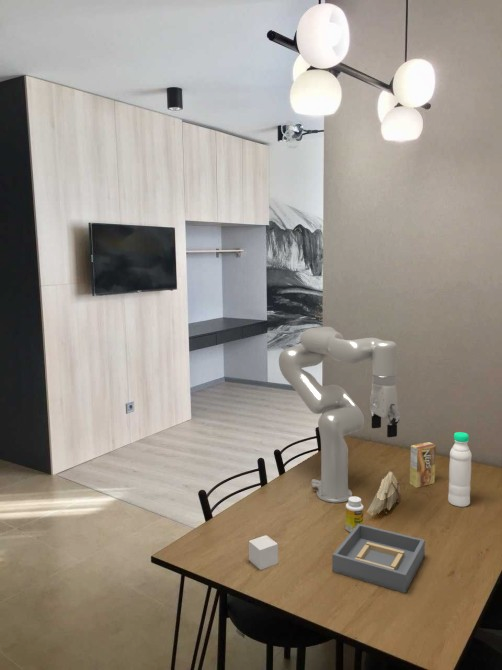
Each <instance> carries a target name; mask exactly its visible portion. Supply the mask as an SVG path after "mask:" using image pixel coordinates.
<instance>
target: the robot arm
mask: <svg viewBox="0 0 502 670" xmlns="http://www.w3.org/2000/svg"><path fill="white" fill-rule="evenodd" d="M299 342H300V344H301V345H296V346H295V345H294V346H291V347H287V348H286V349H283V350H282V351H281V352H280V354H279V357H278V367H279V369H280V372H281V375H282V376H283V378H284V379H285V380H286V381H287V383H289V385H290V386H291V387H292V388H293V389H294V390H295V392H297V395H298V396H299V397H300V398H301V400H302V401H303V403H304V404H305V405H306V407H307V408H308V409H309V410H310V411H311V413H312V414H317V415H320V414H321V415H320V416H319V418H318V423H317V425H318V431H319V436H320V456H321V457H320V464H321V466H320V467H321V468H320V472H321V473H320V480H318V479H314V478H312V480H311V482H310V483H311V487H312V488H317V490H316V496H317V497H318V498H319V499H320V500H322V501H324V502H327V503H335V504H336V503H344V502H348V498H349V497H352V496H353V492H352V490H351V489H350V488H349V447H348V444H347V443H346V442H347V441H346V440H345V437H344V436H346V435H349V434H353V433H357V432H359V431H360V430H362V429H363V427H364V425H365V417H364V414H363V412H362V411H361V408H360V407H359V406H358V405H357V404H356V402H355V401H354V400H353V399H352V397H351V396H350V395H349V393H348V392H347V391H346V389H344V388H343V387H341V386H340V385H337V384H329V385H328V384H327V385H322V384H321V383H319V382H318V381H317V378H315V377H314V376H313V375H312V374H311V373H309V372H308V371H306V370H305V369H303V368H308V367H309V368H310V367H314V366H317V365H320V364H321V363H322V362H323V361H324V360H325V359H326V358H327V357H328V356H330V358H332V359H333V361H335V362H336V361H337V362H341V363H345V364H351V365H352V364H360V363H364V362H365V363H366V362H371V361H372V362H371V364H372V366H371V368H372V370H371V372H372V373H371V377H372V378H371V386H370V395H369V401H368V403H369V410H370V415H371V428H372V429H380V428H381V427H382V419H385V418H386V421H387V425H386V437H387V438H394V437H395V438H396V437H398V425H399V422H400V417H401V415H402V414H401V412H400V411H399V410H398V407H399V406H398V391H397V384H398V383H397V378H398V375H397V374H398V373H397V371H398V360H397V359H398V345H397V343H396V342H395V341H392V340H383V339H380V338H378V337H364V338H358V339H357V338H356V339H352V340H351V339H345V338H344V336H343V335H342V333H341V332H339V331H337V330H336V329H335V328H333V326H332V327H331V326H319V327H311V328H307V329H306V330H304V331H303V332H302V333H301V335H300V340H299Z"/></svg>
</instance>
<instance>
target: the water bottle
mask: <svg viewBox="0 0 502 670" xmlns="http://www.w3.org/2000/svg"><path fill="white" fill-rule="evenodd" d="M453 439H454V444H453V445H452V447H451V449H450V452H449V467H448V470H449V471H448V481H449V482H448V497H447V501H448V502H449V504H451V505H453V506H455V507H459V508H462V507H463V508H464V507H467V506H469V505H470V504H471V480H472V479H471V477H472V456H473V455H472V452H471V450H470V447H469V445H468V443H469V439H470V436H469V434H468V433H467V432H462V431H458V432H454V434H453Z"/></svg>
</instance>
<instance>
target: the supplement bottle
mask: <svg viewBox="0 0 502 670" xmlns="http://www.w3.org/2000/svg"><path fill="white" fill-rule="evenodd" d="M364 509H365V508H364V505H363V504H362V498H361V497H359V496H355V495H354V496H353V495H352V497H349V498H348V501H347V503H345V525H344V526H345V530H347V532H349V533H351V531H352V530H353V529H354V528H355V527H356V525H357V524H362V525H364V512H365V511H364Z"/></svg>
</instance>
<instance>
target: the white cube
mask: <svg viewBox="0 0 502 670" xmlns="http://www.w3.org/2000/svg"><path fill="white" fill-rule="evenodd" d="M248 561H249V562H250V563H251V564H253V565H254V566H255V567H256V568H257V569H258V570H260V571H261V570H264V569H267V568H269V567H273V566H274V565H277V564H279V544H278V543H277V542H276V541H275V540H273V538H271V537H270V536H268V535H267V534H265V535H262V536H260V537H256V538H253V539H251V540H248Z"/></svg>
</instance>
